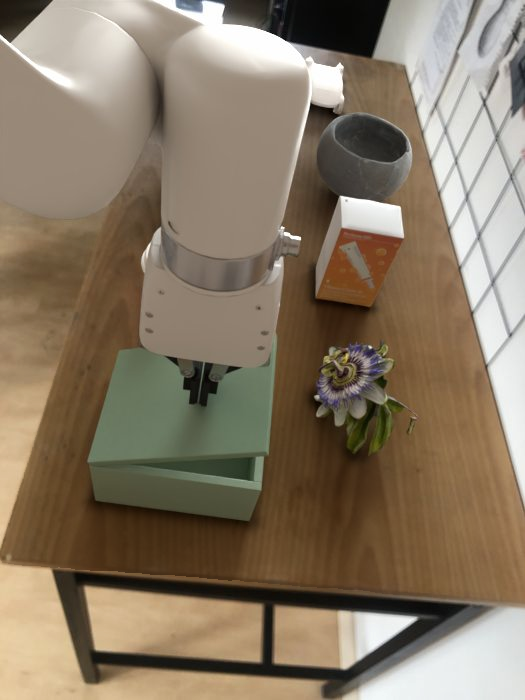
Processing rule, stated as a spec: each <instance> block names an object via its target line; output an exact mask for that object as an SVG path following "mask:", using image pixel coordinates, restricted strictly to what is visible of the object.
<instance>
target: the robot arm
mask: <svg viewBox="0 0 525 700" xmlns="http://www.w3.org/2000/svg"><path fill="white" fill-rule="evenodd" d="M305 60H306V59H304V57H303V56H302V55H301V53H300V52H299V51H298V50H297V49H296V48H295V47H294V46H293V45H291V44H290V43H289V42H288V41H285V40H284V39H283V38H281V37H279V36H277V35H275V34H272V33H270V32H267V31H265V30H261V29H258V28H255V27H250V26H245V25H238V24H225V23H223V24H215V23H212V22H209V21H207V20H205V19H202V18H199V17H197V16H195V15H193V14H191V13H188V12H186V11H184V10H182V9H179V8H177V7H176V6H173V5H171V4H169V3H167V2H166V1H163V0H52V1H51V2H50V3H49V4H48V5H47V6H46V7H45V8H44V9H43V10H42V11H41V12H40V13H39V14H38V15H37V16H36V17H35V18H34V19H33V20H32V21H31V22H30V23H28V24H27V26H26V27H25V28H24V29H23V30H22V31H20V33H19V34H18V35H17V36H16V37H15V38H14V39H13V40H12V41H11V42H9V41H8V40H7V39H5V38H4V37H3V36H2V35H1V34H0V201H1V202H4V203H6V204H7V205H9V206H11V207H13V208H15V209H17V210H19V211H22V212H25V213H28V214H30V215H33V216H36V217H39V218H44V219H49V220H54V221H75V220H80V219H84V218H86V217H89V216H93V215H96V214H97V213H98V212H99V211H101V210H103V209H104V208H105V207H107V206H108V205H110V204H111V202H112V201H113V200H114V199H115V198H116V197H117V196H118V195H119V193H120V192H121V190H122V189H123V188H124V186H125V184H126V183H127V181H128V179H129V177H130V176H131V174H132V172H133V170H134V168H135V166H136V164H137V163H138V161H139V159H140V157H141V155H142V153H143V151H144V149H145V147H146V146H147V144H148V142H150V141H151V142H155V143H156V144H158V146H159V147H160V149H161V182H160V183H161V184H160V185H161V188H160V189H161V191H160V227H159V228H157V229H156V230H155V231H154V233H153V235H152V238H151V240H150V242H151V244H150V248H149V252H148V257H147V262H146V269H145V274H144V275H143V281H142V288H141V289H142V290H141V291H142V292H141V299H140V310H139V311H140V313H139V328H138V330H139V332H138V333H139V339H138V341H137V345H138V348H143V349H146V350H149V351H151V352H153V353H156V354H160V355H164V356H165V357H166V358H167V359H169V360H170V361H171V362H173V363H174V364H175V365H177V366H178V367H179V371H180V374H181V375H182V376H183V377H184V381H183V390H189V391H190V397H189V404H192V405H195V403H196V404H197V401H198V395H199V389H200V383H201V377H202V369H203V362H205V365H204V371H203V377H202V383H201V391H200V399H199V404H201V406H206V407H207V400H208V394H209V393H210V394H217V388H218V382H219V381H222V380H223V378H224V376H225V374H227V373H230V372H233V371H235V370H238V369H241V368H243V367H246V368H253V367H267V366H269V365H270V357H271V348H272V344H273V340H274V335H275V333H276V330H277V324H278V320H279V319H278V318H279V313H280V306H281V301H282V294H283V293H282V291H283V283H284V282H283V281H284V271H285V270H284V269H285V268H284V267H285V266H284V264H285V263H284V258H287V257H292V258H298V256H299V253H300V249H301V241H302V238H301V236H297V235H291V233H290V232H285V227H283V221H284V217H285V213H286V209H287V205H288V200H289V195H290V192H291V187H292V183H293V179H294V174H295V171H296V166H297V162H298V158H299V153H300V149H301V145H302V141H303V137H304V133H305V129H306V124H307V120H308V115H309V111H310V106H311V102H310V101H311V95H312V82H311V75H310V71H309V69H308V67H307V64H306V62H305Z"/></svg>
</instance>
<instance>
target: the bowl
mask: <svg viewBox="0 0 525 700" xmlns="http://www.w3.org/2000/svg"><path fill="white" fill-rule="evenodd" d="M316 148H317V149H316V166H317V171H318V174H319V176H320V178H321V180H322V182H323V183H324V185H325V186H326V187H327V188H328V189H329V190H330V191H331V192H332V193H334V194H335V195H337V196H338V197H340V196H344V197H349V198H355V199H362V200H370V201H375V202H382V201H384V200H386V199H388V198H390V197H391V196H393V195H395V194H396V193H397V192H398V191H399V190H400V189H401V187H403V185H404V184H405V182H406V180H407V178H408V176H409V174H410V171H411V168H412V164H413V151H412V150H413V149H412V145H411V141H410V139H409V138H408V136H407V134H405V132H404V131H403V130H402V129H400V127H398V126H396V125H395V124H393V123H392V122H390V121H388V120H387V119H384V118H381V117H379V116H376V115H373V114H371V113H366V112H351V113H347V114H343V115H340V116H338V117H336V118H335V119H333V120H332V121H331V122H330V123H329V124H328V125H327V127H326V128H325V129H324V130H323V132H322V133H321V136H320V138H319V141H318V143H317V147H316Z"/></svg>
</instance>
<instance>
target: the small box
mask: <svg viewBox="0 0 525 700" xmlns="http://www.w3.org/2000/svg"><path fill="white" fill-rule="evenodd" d="M404 240H405V233H404V225H403V215H402V207H401V206H400V205H394V204H390V203H389V204H388V203H383V202H380V201H378V202H375V201H370V200H362V199H355V198H349V197H344V196H338V200H337V203H336V206H335V209H334V212H333V214H332V218H331V221H330V224H329V226H328V230H327V232H326V235H325V238H324V241H323V243H322V247H321V250H320V253H319V257H318V259H317V263H316V265H315V299H317V300H325V301H332V302H338V303H345V304H351V305H356V306H363V307H368V308H372V306H373V304H374V302H375V300H376V298H377V296H378V294H379V292H380V290H381V288H382V286H383V284H384V281H385V279H386V278H387V276H388V274H389V271H390V269H391V267H392V265H393V263H394V261H395V259H396V257H397V255H398V252H399V250H400V249H401V246H402V244H403V243H404Z"/></svg>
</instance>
